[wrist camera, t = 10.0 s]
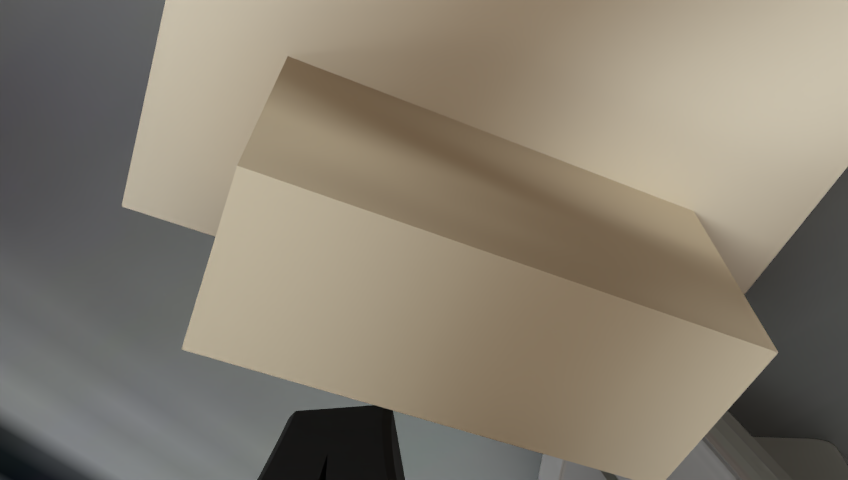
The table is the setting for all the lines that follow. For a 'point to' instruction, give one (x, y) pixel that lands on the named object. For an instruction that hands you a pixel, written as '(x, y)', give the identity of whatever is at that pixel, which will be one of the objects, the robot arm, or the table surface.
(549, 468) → the digital clock
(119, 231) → the table surface
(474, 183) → the lid
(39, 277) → the table surface
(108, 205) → the table surface
